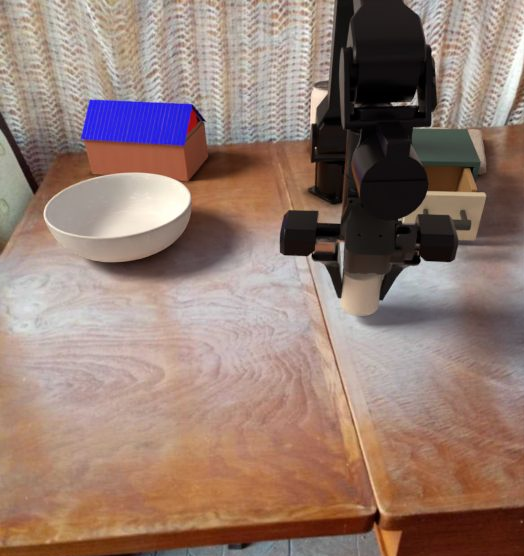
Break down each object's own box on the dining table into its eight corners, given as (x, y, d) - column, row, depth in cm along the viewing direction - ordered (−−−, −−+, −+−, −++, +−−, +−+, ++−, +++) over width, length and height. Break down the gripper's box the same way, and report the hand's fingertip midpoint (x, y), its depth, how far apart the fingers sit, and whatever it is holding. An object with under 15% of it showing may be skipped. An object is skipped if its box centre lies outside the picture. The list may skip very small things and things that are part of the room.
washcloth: (479, 140, 107) (482, 124, 105) (486, 178, 94) (491, 161, 92) (417, 138, 110) (420, 122, 108) (417, 174, 97) (419, 157, 94)
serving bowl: (173, 287, 73) (165, 242, 68) (31, 276, 76) (15, 232, 71) (211, 214, 88) (207, 173, 83) (91, 208, 91) (81, 168, 87)
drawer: (480, 257, 74) (492, 211, 69) (403, 254, 75) (410, 209, 71) (462, 201, 86) (472, 159, 82) (396, 199, 88) (402, 158, 83)
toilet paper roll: (332, 303, 66) (334, 268, 63) (359, 289, 68) (362, 254, 65) (359, 321, 63) (363, 285, 60) (386, 305, 65) (391, 270, 62)
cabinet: (468, 215, 85) (481, 161, 79) (393, 213, 86) (400, 160, 80) (456, 178, 95) (467, 129, 89) (389, 177, 96) (395, 128, 90)
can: (340, 156, 104) (345, 90, 96) (307, 155, 105) (309, 89, 97) (343, 144, 108) (348, 80, 100) (312, 143, 110) (313, 79, 102)
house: (189, 182, 98) (180, 115, 90) (89, 174, 102) (73, 110, 94) (210, 156, 106) (203, 93, 98) (117, 150, 110) (104, 89, 103)
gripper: (271, 206, 50) (275, 335, 60) (481, 213, 47) (447, 346, 58) (284, 158, 58) (285, 279, 68) (463, 162, 56) (436, 286, 66)
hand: (359, 297), depth 65 cm, fingers closed on toilet paper roll, 4 cm apart
